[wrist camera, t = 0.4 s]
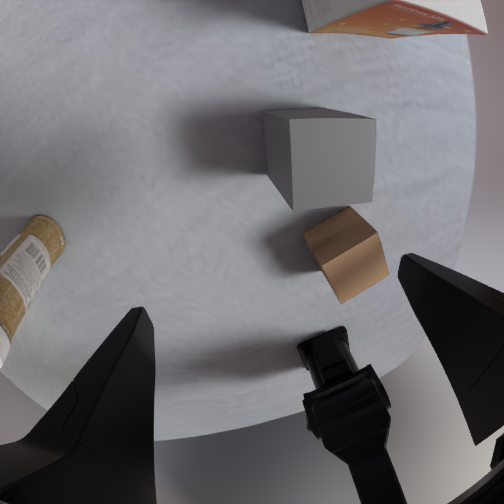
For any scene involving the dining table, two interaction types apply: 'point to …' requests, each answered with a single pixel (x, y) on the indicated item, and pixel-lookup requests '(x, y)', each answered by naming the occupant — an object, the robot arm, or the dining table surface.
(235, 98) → the dining table surface
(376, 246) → the walnut cube
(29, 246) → the sprinkles bottle
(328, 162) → the gray block
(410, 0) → the small box
